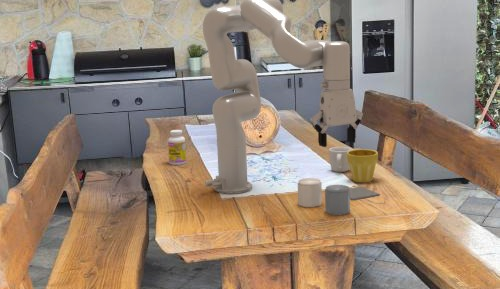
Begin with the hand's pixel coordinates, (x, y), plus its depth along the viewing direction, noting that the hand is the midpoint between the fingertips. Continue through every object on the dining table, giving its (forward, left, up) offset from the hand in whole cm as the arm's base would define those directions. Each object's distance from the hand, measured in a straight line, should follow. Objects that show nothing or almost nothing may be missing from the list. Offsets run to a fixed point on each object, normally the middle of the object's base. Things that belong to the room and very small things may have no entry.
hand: (337, 144), depth 210 cm
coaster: (+15, +12, -20) cm, 28 cm away
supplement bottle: (-19, +84, -20) cm, 89 cm away
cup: (+26, +39, -21) cm, 51 cm away
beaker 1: (-3, +11, -20) cm, 23 cm away
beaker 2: (0, 0, -20) cm, 20 cm away
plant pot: (+26, +25, -21) cm, 42 cm away
